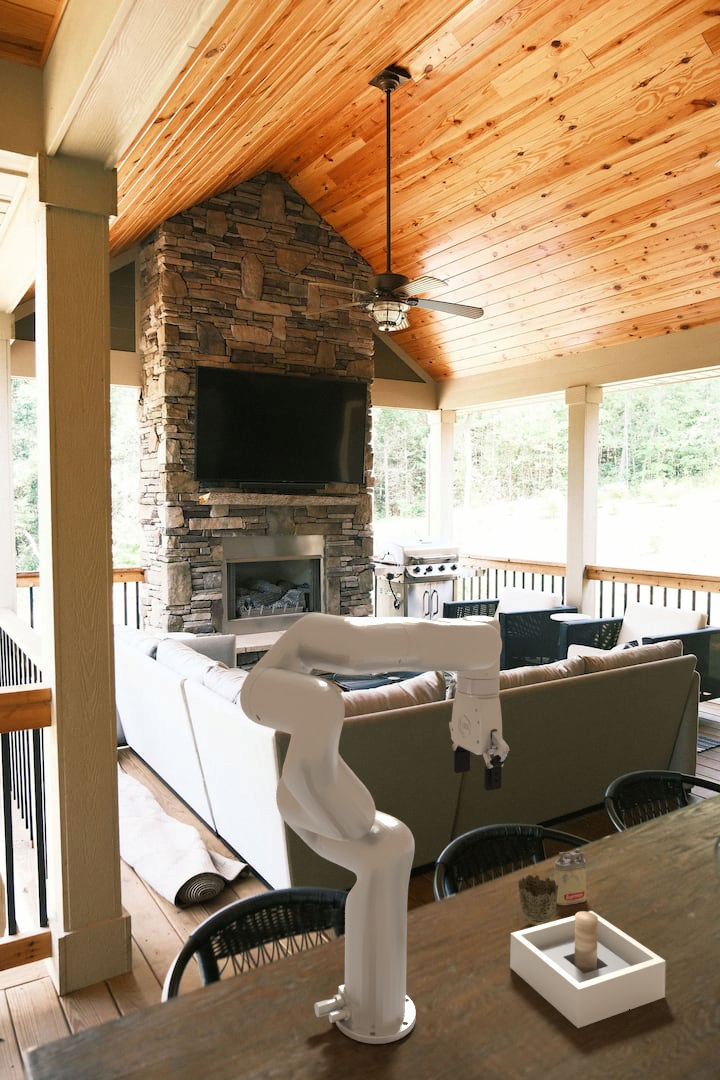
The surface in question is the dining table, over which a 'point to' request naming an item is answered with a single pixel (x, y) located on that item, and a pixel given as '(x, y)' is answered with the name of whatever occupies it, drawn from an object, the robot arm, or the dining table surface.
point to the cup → (538, 899)
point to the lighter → (570, 877)
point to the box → (596, 995)
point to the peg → (586, 941)
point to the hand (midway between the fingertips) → (476, 780)
